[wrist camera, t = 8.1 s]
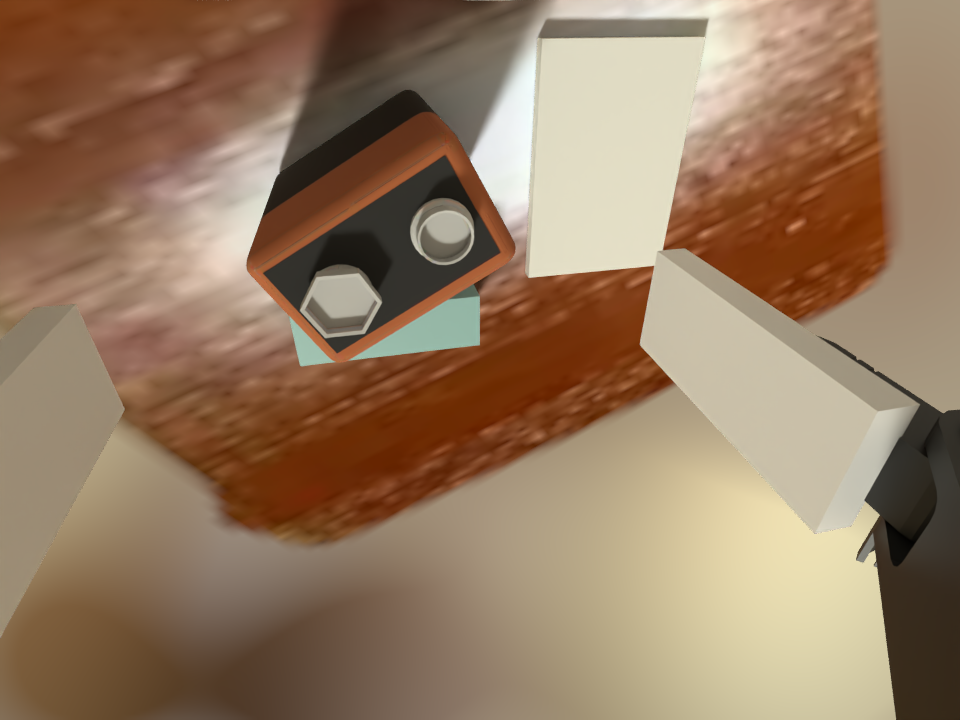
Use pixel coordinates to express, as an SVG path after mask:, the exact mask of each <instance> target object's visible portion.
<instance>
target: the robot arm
mask: <svg viewBox="0 0 960 720" xmlns="http://www.w3.org/2000/svg"><path fill="white" fill-rule="evenodd" d="M640 346H641V347H642V348H643V349H644V350H645V351H646V352H647V353H648V354H649V355H650V356H651V357H652V359H653V360H654V361H655V362H656V363H657V364H658V365H659V366H660V367H661V368H662V369H663V370H664V372H665V373H666V374H667V375H668V376H669V377H670V378H671V379H672V380H673V381H674V382H675V383H676V385H677V386H678V387H679V388H680V389H681V390H682V391H683V392H684V393H685V394H686V395H687V396H688V398H689V399H691V401H692V402H693V403H694V404H695V405H696V406H697V407H698V408H699V409H700V410H701V412H702V413H703V414H704V415H705V416H706V417H707V418H708V419H709V420H710V421H711V422H712V423H713V425H714V426H715V427H716V428H717V429H718V430H719V431H720V432H721V433H722V434H723V435H724V436H725V438H726V439H727V440H728V441H729V442H730V443H731V444H732V445H733V446H734V447H735V448H736V449H737V450H738V451H739V453H740V454H741V455H742V456H743V457H744V458H745V459H746V460H747V461H748V462H749V463H750V465H751V466H752V467H753V468H754V469H755V470H756V471H757V472H758V473H759V474H760V475H761V476H762V478H763V479H764V480H765V481H766V482H767V483H768V484H769V485H770V486H771V487H772V488H773V489H774V491H775V492H776V493H777V494H778V495H779V496H780V497H781V498H782V499H783V500H784V501H785V502H786V503H787V505H788V506H789V507H790V508H791V509H792V510H793V511H794V512H795V513H796V514H797V515H798V516H799V518H801V520H802V521H803V522H804V523H805V524H806V525H807V526H808V527H809V528H810V529H811V531H812V532H813V533H814V534H817V533H822V532H826V531H831V530H835V529H840V528H845V527H850V526H852V524H853V522H854V520H855V519H856V517H857V515H858V513H859V512H860V509H861V508H862V506H863V505H864V503H865V501H866V502H867V503H868V504H869V505H870V506H871V507H872V508H873V509H875V510H876V511H877V512H878V513H879V514H880V516H879V518H878V520H877V521H876V523H875V524H874V526H873V528H872V529H871V531H870V533H869V534H868V536H867V538H866V540H865V541H864V543H863V544H862V546H861V548H860V549H859V551H858V554H857V558H856V560H857V561H860V562H864V561H865V559H866V557H867V556H868V554H869V553H870V552H872V551H874V550H875V553H876V562H875V564H874V566H875V567H877V569H878V577H879V585H880V592H881V600H882V609H883V617H884V624H885V633H886V641H887V648H888V657H889V665H890V673H891V681H892V689H893V697H894V705H895V712H896V720H960V410H951V411H947V412H945V413H941V412H940V411H938V410H937V409H935V408H934V407H932V406H931V405H929V404H928V403H926V402H924V401H923V400H922V399H920V398H918V397H917V396H915V395H914V394H912V393H911V392H909V391H908V390H906V389H904V388H903V387H902V386H900V385H898V384H897V383H895V382H894V381H892V380H891V379H889V378H888V377H886V376H885V375H883V374H882V373H880V372H875V371H874V368H873V367H871V366H869V365H868V364H866V363H865V362H863V361H862V360H857V359H856V356H854V355H853V354H851V353H850V352H848V351H846V350H845V349H843V348H842V347H840V346H839V345H837V344H835V343H834V342H831V341H829V340H826V339H824V338H822V337H819V336H817V335H814V334H813V333H812V332H810V331H808V330H807V329H806V328H804V327H802V326H801V325H799V324H798V323H796V322H795V321H793V320H792V319H790V318H789V317H787V316H786V315H784V314H783V313H781V312H780V311H778V310H777V309H775V308H774V307H772V306H771V305H769V304H768V303H766V302H765V301H763V300H762V299H760V298H759V297H757V296H756V295H754V294H753V293H751V292H750V291H748V290H747V289H745V288H744V287H742V286H741V285H739V284H738V283H736V282H735V281H733V280H732V279H730V278H729V277H727V276H726V275H724V274H723V273H721V272H720V271H718V270H717V269H715V268H714V267H712V266H711V265H709V264H707V263H706V262H704V261H703V260H701V259H700V258H698V257H697V256H695V255H694V254H692V253H691V252H689V251H688V250H686V249H674V250H663V251H657V256H656V261H655V266H654V272H653V277H652V282H651V287H650V293H649V298H648V303H647V309H646V314H645V319H644V324H643V330H642V335H641V340H640ZM124 410H125V409H124V407H123V404H122V402H121V400H120V398H119V396H118V394H117V392H116V389H115V387H114V385H113V383H112V381H111V379H110V376H109V374H108V372H107V370H106V368H105V366H104V364H103V361H102V359H101V357H100V355H99V353H98V351H97V348H96V346H95V344H94V342H93V340H92V338H91V336H90V333H89V331H88V329H87V327H86V325H85V323H84V321H83V318H82V316H81V314H80V312H79V310H78V308H77V305H76V304H70V305H59V306H48V307H37V308H33V309H32V310H31V311H30V312H29V313H28V314H27V315H26V316H25V317H24V318H23V319H22V320H20V321H19V322H18V323H17V324H16V325H15V326H14V327H13V328H12V329H11V330H10V331H9V332H8V333H7V334H6V335H5V336H4V337H3V338H2V339H0V637H1V635H2V634H3V632H4V630H5V628H6V626H7V624H8V623H9V621H10V619H11V617H12V615H13V613H14V612H15V610H16V608H17V606H18V604H19V602H20V601H21V599H22V597H23V595H24V593H25V591H26V590H27V588H28V586H29V584H30V582H31V580H32V579H33V577H34V575H35V573H36V571H37V569H38V568H39V566H40V564H41V562H42V560H43V558H44V557H45V555H46V553H47V551H48V549H49V547H50V546H51V544H52V542H53V540H54V538H55V536H56V535H57V533H58V531H59V529H60V527H61V525H62V524H63V522H64V520H65V518H66V516H67V514H68V513H69V511H70V509H71V507H72V505H73V503H74V502H75V500H76V498H77V496H78V494H79V493H80V491H81V489H82V487H83V485H84V483H85V482H86V480H87V478H88V476H89V474H90V472H91V470H92V468H93V467H94V465H95V463H96V461H97V460H98V458H99V456H100V454H101V452H102V450H103V449H104V446H105V445H106V443H107V441H108V439H109V438H110V436H111V434H112V432H113V430H114V428H115V427H116V425H117V423H118V421H119V419H120V417H121V416H122V414H123V412H124Z"/></svg>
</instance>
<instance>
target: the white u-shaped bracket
mask: <svg viewBox="0 0 960 720" xmlns="http://www.w3.org/2000/svg"><path fill="white" fill-rule="evenodd" d="M463 1H513V0H463Z"/></svg>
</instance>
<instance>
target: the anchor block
mask: <svg viewBox="0 0 960 720" xmlns="http://www.w3.org/2000/svg"><path fill="white" fill-rule="evenodd" d="M289 319H290V323H291V327H292V332H293V336H294V341H295V345H296V350H297V354H298V358H299V363H300V366H306V365H314V364H323V363H331V362H335V361H333V360H331V359H330V358H329V357H328V356H327V355H326V354H325V353H324V352H323V351H322V350H321V349H320V348H319V347H318V346H317V345H316V344H315V343H314V342H313V341H312V339H311V338H310V337H309V336H308V335H307V334H306V333H305V332H304V331H303V330H302V329H301V328H300V327H299V326H298V325H297V324H296V323H295V321H294V320H293V319H292V318H291V317H290V316H289ZM474 345H480V296H479V294H478V292H477V290H476V288H475V286H474V284H473V285H471V286H469V287H468V288H466V289H464V290H463V291H461V292H460V293H458V294H456V295H455V296H453V297H451V298H450V299H448V300H447V301H445V302H443V303H442V304H440V305H438V306H437V307H435V308H433V309H432V310H430V311H429V312H427V313H425V314H424V315H422V316H420V317H419V318H417V319H416V320H414V321H412V322H411V323H409V324H407V325H406V326H404V327H403V328H401V329H399V330H398V331H396V332H394V333H393V334H391V335H389V336H388V337H386V338H385V339H383V340H381V341H380V342H378V343H376V344H375V345H373V346H372V347H370V348H368V349H367V350H365V351H363V352H362V353H360V354H358V355H357V356H355V357H353V358H352V359H350V360H356V359H365V358H373V357H382V356H390V355H399V354H407V353H415V352H424V351H432V350H441V349H449V348H458V347H466V346H474Z"/></svg>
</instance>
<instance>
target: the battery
mask: <svg viewBox="0 0 960 720" xmlns="http://www.w3.org/2000/svg"><path fill="white" fill-rule="evenodd" d="M514 254H515V243H514V241H513V239H512V237H511V235H510V233H509V231H508V230H507V228H506V226H505V224H504V222H503V220H502V218H501V217H500V215H499V213H498V211H497V209H496V207H495V206H494V204H493V202H492V200H491V198H490V196H489V195H488V193H487V191H486V189H485V187H484V185H483V183H482V182H481V180H480V178H479V176H478V174H477V172H476V171H475V169H474V167H473V165H472V163H471V161H470V160H469V158H468V156H467V154H466V152H465V150H464V148H463V147H462V145H461V143H460V141H459V140H458V138H457V136H456V135H455V134H454V133H453V132H452V130H451V129H450V128H449V127H448V126H447V125H446V124H445V123H444V122H443V121H442V120H441V119H440V117H439V116H438V115H437V114H436V113H435V112H434V111H433V110H432V109H431V108H430V107H429V106H428V104H427V103H426V102H425V101H424V100H423V99H422V98H421V97H420V96H419V95H418V94H417V93H416V92H414V91H411V90H406V91H403V92H401V93H399V94H397V95H396V96H394V97H393V98H391V99H390V100H388V101H387V102H385V103H384V104H382V105H381V106H379V107H378V108H376V109H375V110H373V111H372V112H370V113H369V114H367V115H366V116H364V117H363V118H361V119H360V120H358V121H357V122H355V123H354V124H352V125H351V126H349V127H348V128H346V129H345V130H343V131H342V132H340V133H339V134H337V135H336V136H334V137H333V138H331V139H330V140H328V141H327V142H325V143H324V144H322V145H321V146H319V147H318V148H316V149H315V150H314V151H312V152H311V153H309V154H308V155H306V156H305V157H303V158H302V159H300V160H299V161H297V162H296V163H294V164H293V165H291V166H290V167H288V168H287V169H285V170H284V171H282V172H281V173H280V174H279V175H278V176H277V178H276V180H275V182H274V185H273V188H272V191H271V194H270V196H269V199H268V202H267V205H266V207H265V210H264V213H263V216H262V219H261V221H260V224H259V227H258V230H257V233H256V235H255V238H254V241H253V244H252V247H251V249H250V252H249V255H248V258H247V270H248V272H249V273H250V275H251V276H252V277H253V278H254V279H255V280H256V281H257V282H258V283H259V284H260V285H261V287H262V288H263V289H264V290H265V291H266V292H267V293H268V294H269V295H270V296H271V297H272V298H273V299H274V300H275V301H276V302H277V303H278V305H279V306H280V307H281V308H282V309H283V310H284V311H285V312H286V313H287V314H288V315H289V316H290V317H291V318H292V319H293V320H294V321H295V323H296V324H297V325H298V326H299V327H300V328H301V329H302V330H303V331H304V332H305V333H306V334H307V335H308V336H309V337H310V338H311V339H312V341H313V342H314V343H315V344H316V345H317V346H318V347H319V348H320V349H321V350H322V351H323V352H324V353H325V354H326V355H327V356H328V357H329V358H330V359H331V360H333V361H335V362H345V361H348V360H350V359H352V358H353V357H355V356H357V355H358V354H360V353H362V352H363V351H365V350H367V349H368V348H370V347H372V346H373V345H375V344H376V343H378V342H380V341H381V340H383V339H385V338H386V337H388V336H389V335H391V334H393V333H394V332H396V331H398V330H399V329H401V328H403V327H404V326H406V325H407V324H409V323H411V322H412V321H414V320H416V319H417V318H419V317H420V316H422V315H424V314H425V313H427V312H429V311H430V310H432V309H433V308H435V307H437V306H438V305H440V304H442V303H443V302H445V301H447V300H448V299H450V298H451V297H453V296H455V295H456V294H458V293H460V292H461V291H463V290H464V289H466V288H468V287H469V286H471V285H473V284H474V283H476V282H478V281H479V280H481V279H482V278H484V277H486V276H487V275H489V274H491V273H492V272H494V271H495V270H497V269H499V268H500V267H502V266H503V265H505V264H506V263H507V262H509V261H510V260H511V259H512V257H513V256H514Z"/></svg>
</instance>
